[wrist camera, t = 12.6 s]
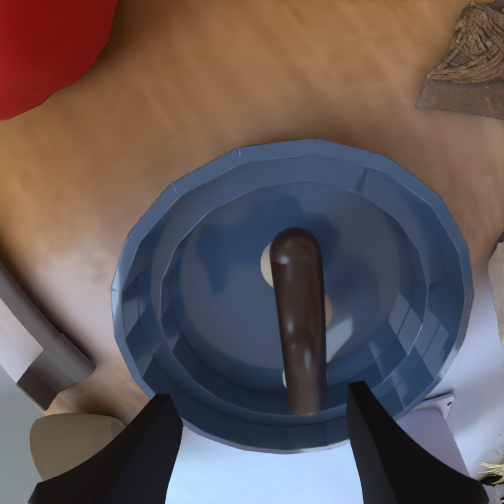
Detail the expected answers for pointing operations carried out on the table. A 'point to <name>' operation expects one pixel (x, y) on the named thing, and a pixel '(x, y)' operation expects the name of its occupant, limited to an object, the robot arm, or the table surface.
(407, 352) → the bowl
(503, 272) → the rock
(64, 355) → the toilet paper hanger
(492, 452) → the spiky glass cluster
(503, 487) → the dumbbell
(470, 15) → the brown flat piece
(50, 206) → the table surface
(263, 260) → the dough ball
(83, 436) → the flower pot
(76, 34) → the tomato
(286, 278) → the stick
